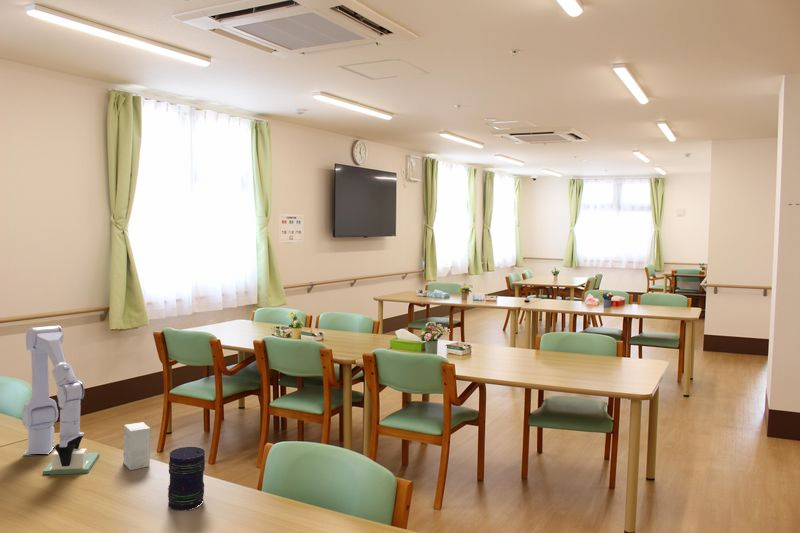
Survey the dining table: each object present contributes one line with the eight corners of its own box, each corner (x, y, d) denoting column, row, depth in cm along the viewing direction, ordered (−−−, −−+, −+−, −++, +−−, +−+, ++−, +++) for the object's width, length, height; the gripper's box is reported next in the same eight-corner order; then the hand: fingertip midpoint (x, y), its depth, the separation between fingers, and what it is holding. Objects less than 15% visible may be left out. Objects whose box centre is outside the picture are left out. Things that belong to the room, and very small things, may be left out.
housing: (56, 463, 198) (56, 449, 198) (86, 461, 200) (86, 448, 200) (51, 468, 194) (52, 454, 193) (82, 467, 196) (83, 453, 196)
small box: (149, 466, 202) (150, 428, 201) (129, 470, 198) (130, 431, 197) (142, 459, 208) (143, 421, 208) (122, 462, 204) (123, 424, 204)
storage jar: (165, 512, 171) (167, 459, 170) (169, 497, 180) (170, 447, 179) (203, 509, 173) (204, 457, 172) (204, 494, 183) (206, 445, 182)
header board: (57, 457, 206) (57, 446, 206) (99, 455, 209) (99, 445, 209) (42, 474, 192) (42, 462, 191) (87, 472, 195) (88, 461, 194)
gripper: (77, 426, 190) (76, 469, 191) (89, 413, 204) (88, 452, 205) (52, 427, 188) (51, 470, 189) (66, 413, 203) (65, 453, 203)
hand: (69, 461), depth 197 cm, fingers open, 7 cm apart
